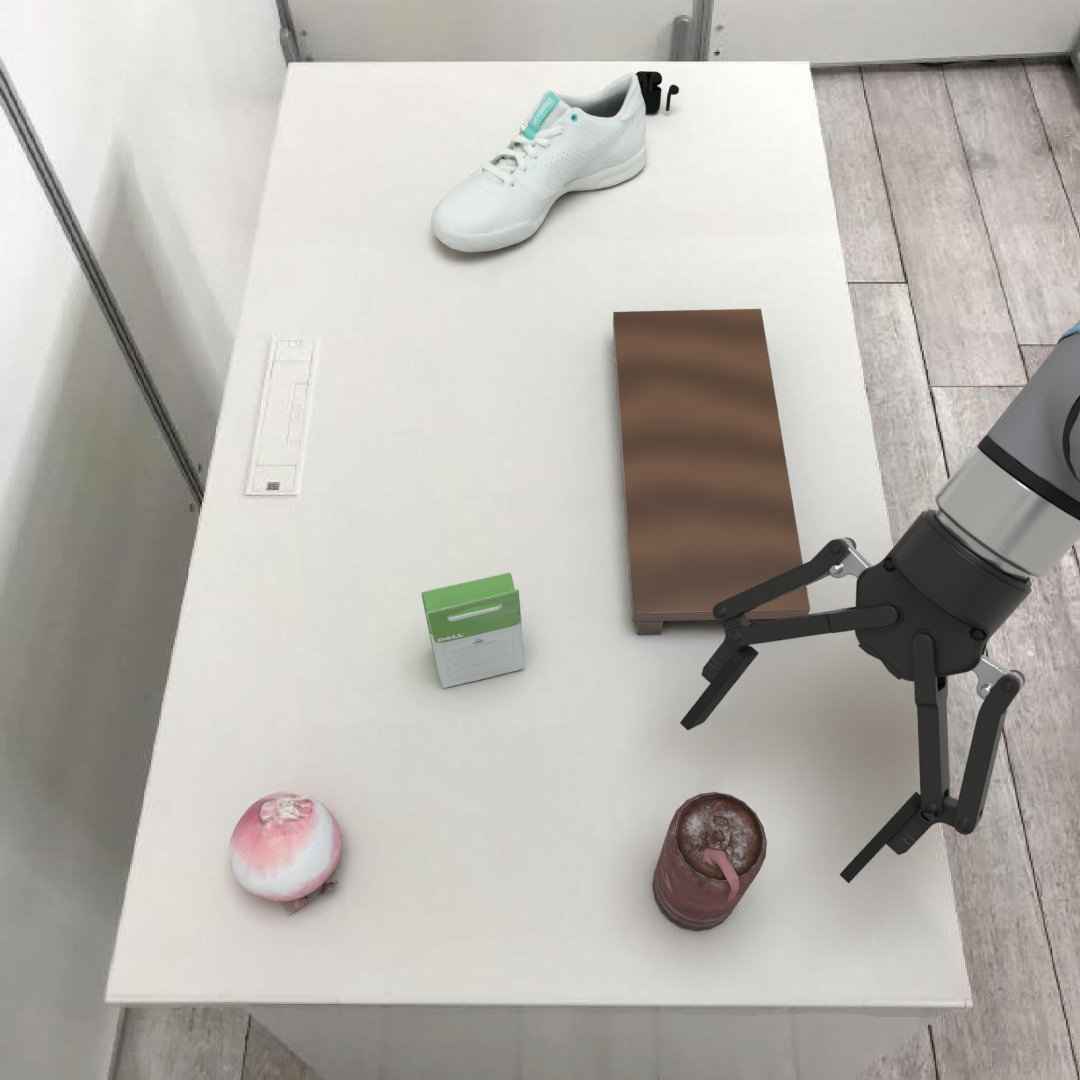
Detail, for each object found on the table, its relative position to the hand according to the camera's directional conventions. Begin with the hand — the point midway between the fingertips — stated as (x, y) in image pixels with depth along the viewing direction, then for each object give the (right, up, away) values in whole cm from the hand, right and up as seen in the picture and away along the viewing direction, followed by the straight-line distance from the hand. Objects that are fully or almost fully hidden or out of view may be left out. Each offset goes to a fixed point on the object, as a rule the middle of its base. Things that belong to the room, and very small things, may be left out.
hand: (767, 795), depth 70 cm
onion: (-33, -7, +9) cm, 35 cm away
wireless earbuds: (-3, +66, +52) cm, 84 cm away
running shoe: (-15, +53, +45) cm, 72 cm away
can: (-4, -9, +8) cm, 12 cm away
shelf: (-1, +23, +26) cm, 35 cm away
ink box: (-20, +7, +17) cm, 27 cm away
